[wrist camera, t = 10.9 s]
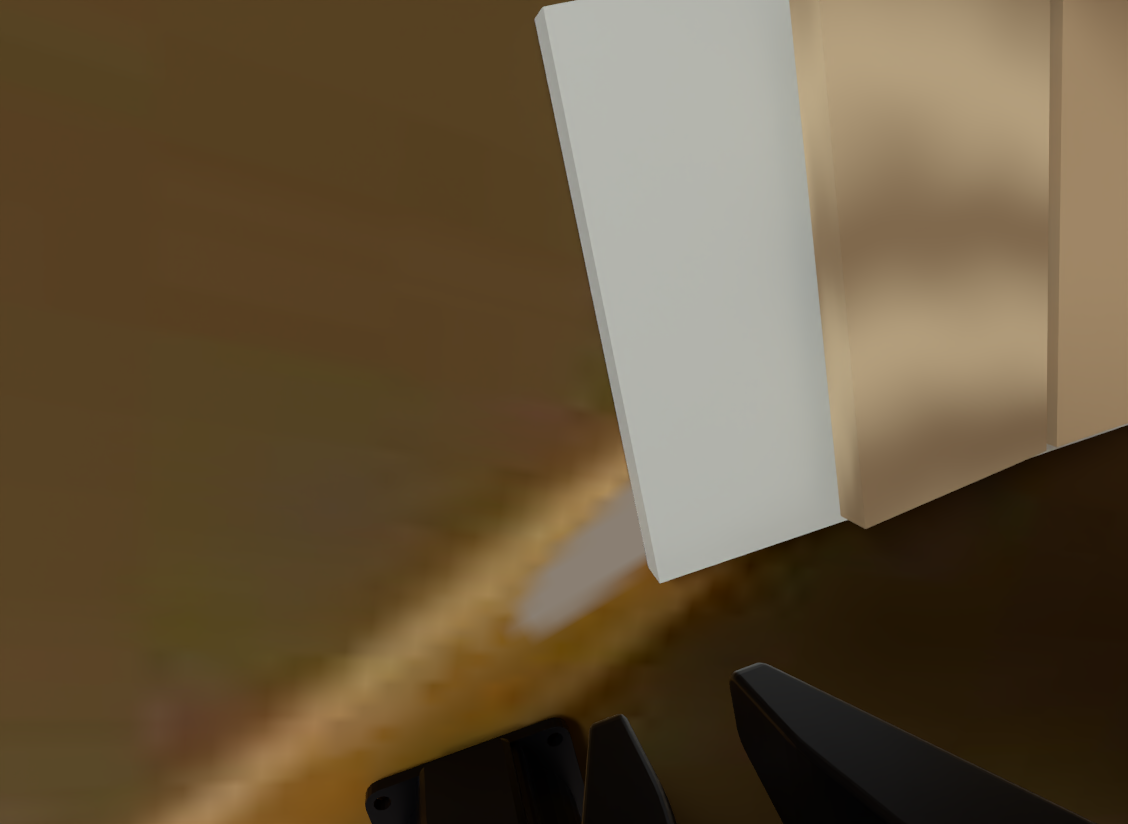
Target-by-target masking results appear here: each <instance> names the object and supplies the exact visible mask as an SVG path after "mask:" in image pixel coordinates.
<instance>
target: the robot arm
mask: <svg viewBox="0 0 1128 824" xmlns="http://www.w3.org/2000/svg"><path fill="white" fill-rule="evenodd" d="M729 684H730V691H731V696H732V702H733V708H734V714H735V719H736V725H737V730H738V734H739V737H740V740H741V742H742V745H743V747H744V749H745V751H746V753H747V755H748V757H749V759H750V761H751V763H752V765H753V767H754V768H755V770H756V772H757V774H758V776H759V778H760V780H761V782H762V784H763V786H764V788H765V789H766V791H767V793H768V795H769V797H770V799H771V801H772V803H773V805H774V807H775V808H776V810H777V812H778V814H779V816H780V818H781V820H782V822H783V824H1097V823H1095V822H1092V821H1090V820H1088V819H1086V818H1084V817H1082V816H1080V815H1078V814H1076V813H1074V812H1072V811H1070V810H1068V809H1066V808H1064V807H1061V806H1059V805H1057V804H1055V803H1053V802H1051V801H1049V800H1047V799H1045V798H1043V797H1041V796H1039V795H1037V794H1035V793H1033V792H1030V791H1028V790H1026V789H1024V788H1022V787H1020V786H1018V785H1016V784H1014V783H1012V782H1010V781H1008V780H1006V779H1004V778H1002V777H999V776H997V775H995V774H993V773H991V772H989V771H987V770H985V769H983V768H981V767H979V766H977V765H975V764H973V763H971V762H968V761H966V760H964V759H962V758H960V757H958V756H956V755H954V754H952V753H950V752H948V751H946V750H944V749H942V748H940V747H937V746H935V745H933V744H931V743H929V742H927V741H925V740H923V739H921V738H919V737H917V736H915V735H913V734H911V733H909V732H906V731H904V730H902V729H900V728H898V727H896V726H894V725H892V724H890V723H888V722H886V721H884V720H882V719H880V718H878V717H875V716H873V715H871V714H869V713H867V712H865V711H863V710H861V709H859V708H857V707H855V706H853V705H851V704H849V703H847V702H844V701H842V700H840V699H838V698H836V697H834V696H832V695H830V694H828V693H826V692H824V691H822V690H820V689H818V688H816V687H813V686H811V685H809V684H807V683H805V682H803V681H801V680H799V679H797V678H795V677H793V676H791V675H789V674H787V673H785V672H782V671H780V670H778V669H776V668H774V667H772V666H770V665H768V664H765V663H756V664H753V665H751V666H748V667H745V668H742V669H740V670H737V671H734V672H733V673H732V674H731V676H730V680H729ZM553 733H559V734H558V735H557V736H555V737H551V738H549V736H550V735H551V734H553ZM383 796H385V797H388V798H386V799H383V800H379V799H377V798H379V797H383ZM365 806H366V811H367V813H368V815H369V818H370V820H371V823H372V824H676V821H675V817H674V814H673V812H672V809H671V806H670V803H669V800H668V798H667V796H666V794H665V791H664V789H663V787H662V785H661V783H660V781H659V779H658V777H657V775H656V773H655V771H654V770H653V768H652V766H651V764H650V762H649V760H648V758H647V756H646V754H645V752H644V750H643V748H642V746H641V744H640V743H639V741H638V739H637V737H636V735H635V733H634V731H633V729H632V727H631V725H630V723H629V721H628V719H627V718H626V717H625V716H624V715H622V714H617V715H615V716H612V717H609V718H606V719H604V720H601V721H598V722H596V723H593V724H592V725H591V727H590V730H589V738H588V751H587V763H586V776H585V787H584V783H583V780H582V776H581V772H580V769H579V765H578V762H577V758H576V754H575V751H574V747H573V743H572V740H571V736H570V733H569V730H568V727H567V725H566V723H565V721H563V720H562V719H560V718H550V719H547V720H544V721H541V722H538V723H536V724H533V725H530V726H527V727H525V728H522V729H519V730H516V731H513V732H511V733H508V734H505V735H502V736H500V737H497V738H494V739H491V740H489V741H486V742H483V743H480V744H478V745H475V746H472V747H469V748H467V749H464V750H461V751H458V752H456V753H453V754H450V755H447V756H444V757H442V758H439V759H436V760H433V761H431V762H428V763H425V764H422V765H420V766H417V767H414V768H411V769H409V770H406V771H403V772H400V773H398V774H395V775H392V776H389V777H387V778H384V779H381V780H378V781H376V782H374V783H373V784H371V785H370V787H369V788H368V789H367V792H366V800H365Z"/></svg>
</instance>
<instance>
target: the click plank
mask: <svg viewBox="0 0 1128 824" xmlns="http://www.w3.org/2000/svg"><path fill="white" fill-rule="evenodd" d="M789 5H790V15H791V25H792V35H793V45H794V55H795V65H796V75H797V85H798V95H799V105H800V115H801V124H802V134H803V144H804V154H805V164H806V174H807V184H808V194H809V204H810V214H811V224H812V234H813V244H814V254H815V264H816V274H817V284H818V294H819V304H820V314H821V324H822V334H823V344H824V354H825V364H826V374H827V384H828V394H829V404H830V414H831V424H832V434H833V444H834V454H835V464H836V474H837V484H838V494H839V504H840V514H841V516H842V517H844V518H846V519H847V520H849V521H851V522H853V523H855V524H857V525H859V526H861V527H863V528H864V529H867V528H869V527H871V526H874V525H876V524H878V523H881V522H883V521H885V520H888V519H890V518H892V517H895V516H897V515H899V514H902V513H904V512H906V511H909V510H911V509H913V508H915V507H918V506H920V505H922V504H925V503H927V502H929V501H932V500H934V499H936V498H939V497H941V496H943V495H946V494H948V493H950V492H953V491H955V490H957V489H960V488H962V487H964V486H966V485H969V484H971V483H973V482H976V481H978V480H980V479H983V478H985V477H987V476H990V475H992V474H994V473H997V472H999V471H1001V470H1004V469H1006V468H1008V467H1010V466H1013V465H1015V464H1017V463H1020V462H1022V461H1024V460H1027V459H1029V458H1031V457H1034V456H1036V455H1038V454H1041V453H1043V452H1045V451H1046V450H1047V333H1048V216H1049V99H1050V0H789Z"/></svg>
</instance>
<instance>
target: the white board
mask: <svg viewBox="0 0 1128 824" xmlns="http://www.w3.org/2000/svg"><path fill="white" fill-rule="evenodd" d="M535 24H536V28H537V33H538V38H539V43H540V48H541V53H542V57H543V62H544V67H545V72H546V77H547V81H548V86H549V91H550V96H551V101H552V106H553V110H554V115H555V120H556V125H557V130H558V134H559V139H560V144H561V149H562V154H563V159H564V163H565V168H566V173H567V178H568V183H569V187H570V192H571V197H572V202H573V207H574V212H575V216H576V221H577V226H578V231H579V236H580V240H581V245H582V250H583V255H584V260H585V265H586V269H587V274H588V279H589V284H590V289H591V293H592V298H593V303H594V308H595V313H596V318H597V322H598V327H599V332H600V337H601V342H602V346H603V351H604V356H605V361H606V366H607V371H608V375H609V380H610V385H611V390H612V395H613V399H614V404H615V409H616V414H617V419H618V424H619V428H620V433H621V438H622V443H623V448H624V452H625V457H626V462H627V467H628V472H629V477H630V481H631V486H632V491H633V496H634V501H635V505H636V510H637V515H638V520H639V525H640V530H641V534H642V539H643V544H644V549H645V554H646V558H647V563H648V568H649V569H650V570H651V572H652V573H653V575H654V576H655V577H656V579H657V580H658V581H659V583H663V582H666V581H669V580H672V579H674V578H677V577H680V576H683V575H686V574H689V573H692V572H695V571H698V570H701V569H704V568H707V567H710V566H713V565H716V564H719V563H722V562H725V561H728V560H731V559H733V558H736V557H739V556H742V555H745V554H748V553H751V552H754V551H757V550H760V549H763V548H766V547H769V546H772V545H775V544H778V543H781V542H784V541H787V540H790V539H793V538H795V537H798V536H801V535H804V534H807V533H810V532H813V531H816V530H819V529H822V528H825V527H828V526H831V525H834V524H837V523H840V522H843V521H846V520H847V519H846V518H844V517H842V516H841V514H840V504H839V494H838V484H837V474H836V464H835V454H834V444H833V434H832V424H831V414H830V404H829V394H828V384H827V374H826V364H825V354H824V344H823V334H822V324H821V314H820V304H819V294H818V284H817V274H816V264H815V254H814V244H813V234H812V224H811V214H810V204H809V194H808V184H807V174H806V164H805V154H804V144H803V134H802V124H801V115H800V105H799V95H798V85H797V75H796V65H795V55H794V45H793V35H792V25H791V15H790V5H789V0H576V1H571V2H566V3H561V4H555V5H550V6H545V7H542V9H541V10H540V12H539V13H538V15H537V16H536V18H535ZM1126 425H1128V0H1050V99H1049V216H1048V333H1047V450H1046V451H1045V452H1043V453H1046V452H1049V451H1052V450H1055V449H1058V448H1061V447H1064V446H1067V445H1070V444H1073V443H1076V442H1079V441H1082V440H1085V439H1088V438H1091V437H1094V436H1096V435H1099V434H1102V433H1105V432H1108V431H1111V430H1114V429H1117V428H1120V427H1123V426H1126ZM1043 453H1041V454H1043ZM1038 455H1040V454H1038ZM1036 456H1037V455H1036ZM1034 457H1035V456H1034ZM1031 458H1032V457H1031Z"/></svg>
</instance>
